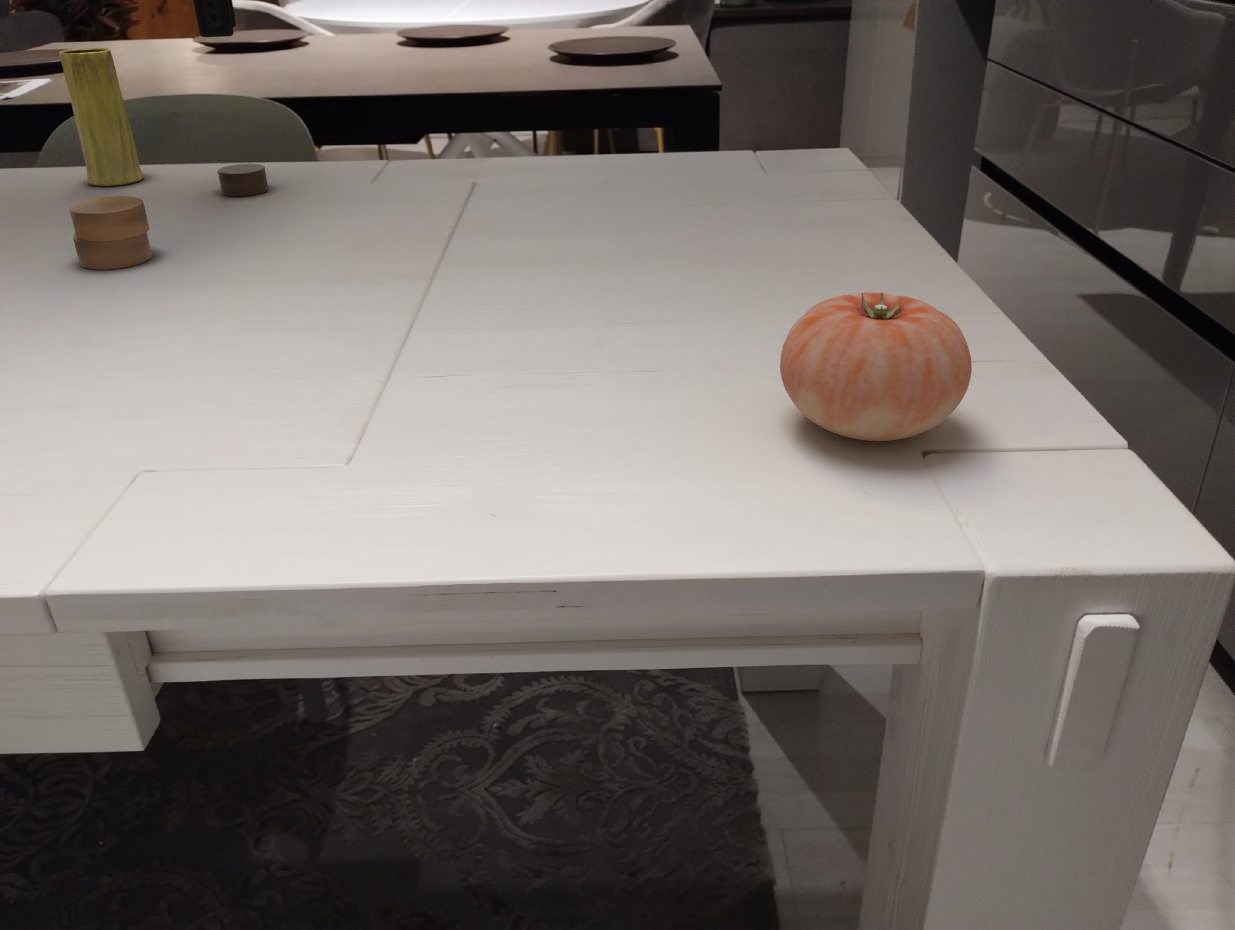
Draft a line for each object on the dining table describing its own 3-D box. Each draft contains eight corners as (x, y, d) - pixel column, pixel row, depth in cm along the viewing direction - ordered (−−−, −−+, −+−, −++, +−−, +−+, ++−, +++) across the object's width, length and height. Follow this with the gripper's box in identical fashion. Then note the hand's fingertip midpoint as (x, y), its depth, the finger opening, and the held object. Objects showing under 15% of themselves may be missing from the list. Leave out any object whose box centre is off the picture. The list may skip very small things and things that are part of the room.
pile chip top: (64, 234, 90) (56, 206, 89) (128, 219, 94) (121, 192, 93) (97, 246, 87) (90, 217, 86) (162, 230, 91) (156, 202, 90)
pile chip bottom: (67, 261, 91) (60, 234, 90) (131, 246, 95) (124, 219, 94) (101, 274, 88) (93, 246, 87) (165, 257, 92) (158, 230, 91)
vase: (88, 189, 116) (53, 55, 109) (88, 178, 120) (55, 49, 114) (145, 183, 118) (114, 51, 111) (143, 172, 123) (114, 46, 116)
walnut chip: (212, 192, 114) (208, 169, 112) (251, 183, 117) (247, 161, 116) (238, 198, 111) (234, 175, 110) (277, 189, 114) (273, 167, 113)
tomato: (749, 398, 64) (756, 276, 60) (904, 379, 66) (920, 261, 63) (821, 479, 55) (834, 342, 51) (998, 454, 57) (1024, 320, 53)
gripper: (150, -155, 104) (186, 25, 112) (132, -167, 90) (175, 42, 98) (227, -155, 106) (257, 23, 114) (221, -166, 91) (256, 38, 100)
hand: (219, 31), depth 106 cm, fingers open, 9 cm apart
